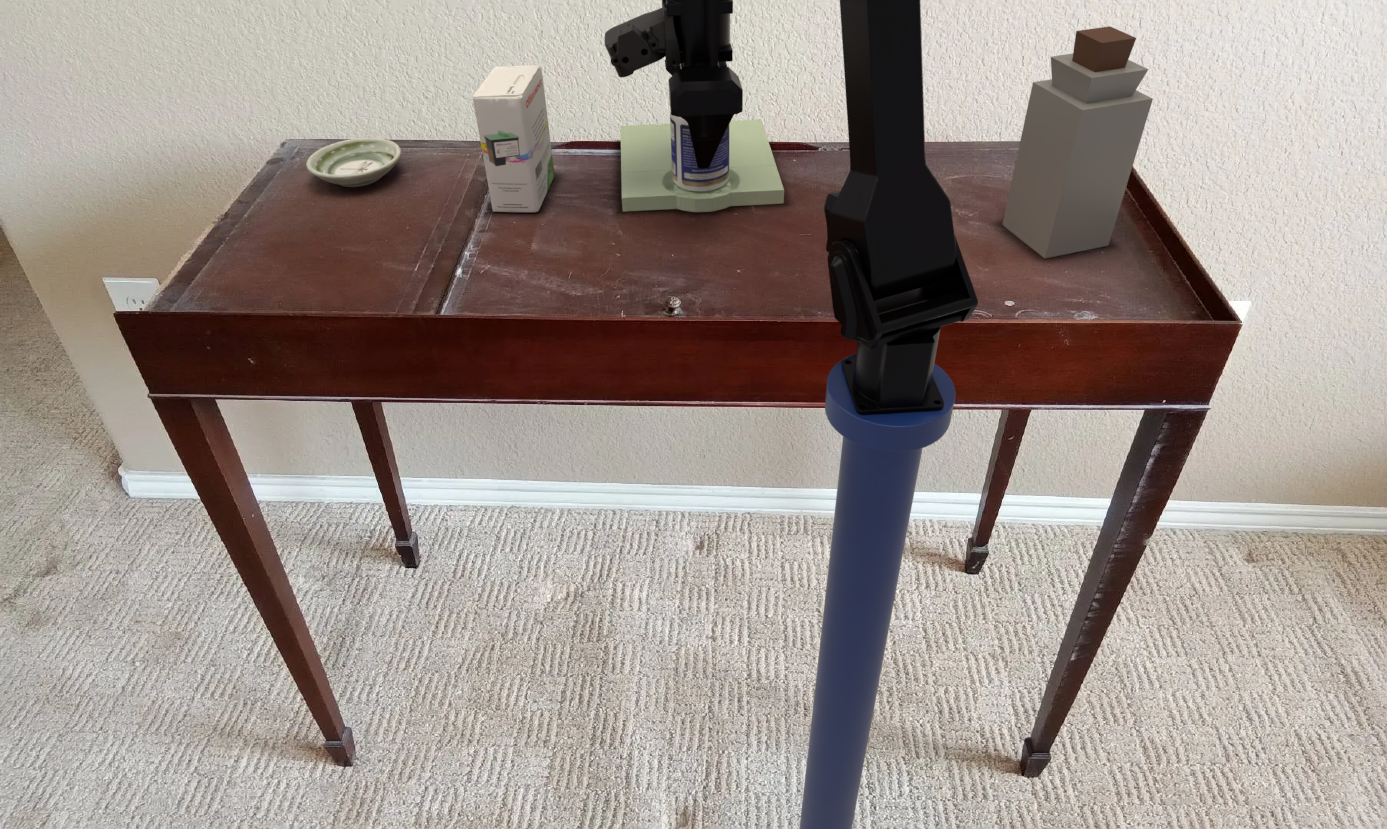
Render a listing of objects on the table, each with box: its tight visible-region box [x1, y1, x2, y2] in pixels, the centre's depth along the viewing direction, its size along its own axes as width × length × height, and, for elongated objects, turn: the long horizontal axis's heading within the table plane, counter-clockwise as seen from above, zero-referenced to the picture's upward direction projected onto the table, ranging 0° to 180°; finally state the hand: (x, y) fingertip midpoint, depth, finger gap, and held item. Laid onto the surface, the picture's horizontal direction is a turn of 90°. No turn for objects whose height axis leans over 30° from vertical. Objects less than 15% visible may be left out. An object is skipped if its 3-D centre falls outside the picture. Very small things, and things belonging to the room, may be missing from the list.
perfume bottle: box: [1001, 25, 1154, 259], centre depth 79 cm, size 7×7×18 cm
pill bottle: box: [669, 110, 729, 192], centre depth 89 cm, size 6×6×10 cm
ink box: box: [472, 64, 555, 213], centre depth 90 cm, size 8×5×12 cm, turn 175°
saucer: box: [305, 137, 402, 188], centre depth 97 cm, size 10×10×2 cm
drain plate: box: [619, 119, 785, 213], centre depth 97 cm, size 19×16×2 cm
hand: (700, 152), depth 90 cm, fingers open, 7 cm apart
